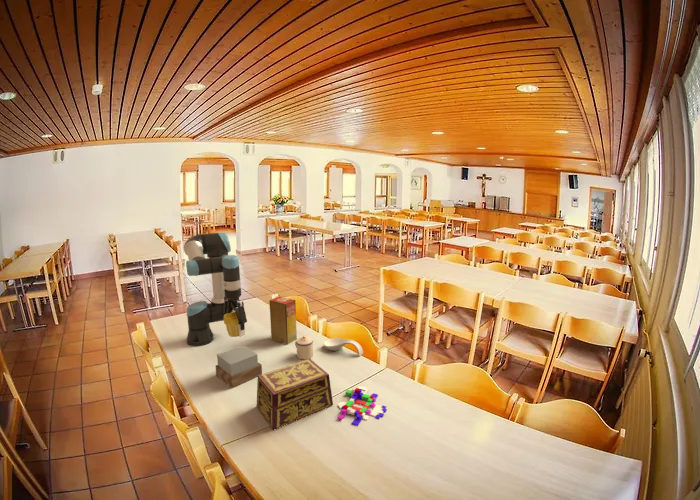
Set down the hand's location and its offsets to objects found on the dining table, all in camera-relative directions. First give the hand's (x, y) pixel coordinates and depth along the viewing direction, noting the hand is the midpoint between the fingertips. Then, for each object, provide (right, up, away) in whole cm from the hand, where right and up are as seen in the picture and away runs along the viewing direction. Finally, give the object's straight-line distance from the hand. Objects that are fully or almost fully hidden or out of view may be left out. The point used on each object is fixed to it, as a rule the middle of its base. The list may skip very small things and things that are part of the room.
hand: (236, 332), depth 178 cm
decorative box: (+31, -28, -19) cm, 46 cm away
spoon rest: (+51, -17, +30) cm, 62 cm away
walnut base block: (0, -23, +6) cm, 24 cm away
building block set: (+60, -28, -20) cm, 69 cm away
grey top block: (0, -17, +4) cm, 18 cm away
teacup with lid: (+29, -18, +25) cm, 43 cm away
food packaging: (+15, -14, +45) cm, 49 cm away
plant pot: (0, -1, 0) cm, 1 cm away
